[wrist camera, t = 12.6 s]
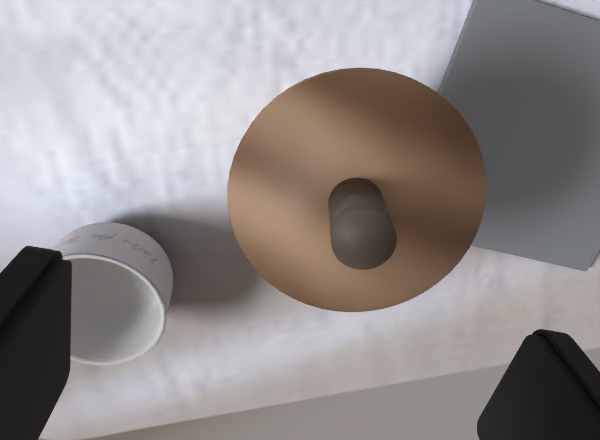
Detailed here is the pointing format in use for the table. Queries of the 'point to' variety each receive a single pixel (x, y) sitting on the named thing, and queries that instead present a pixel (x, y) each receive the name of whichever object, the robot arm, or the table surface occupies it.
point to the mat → (533, 126)
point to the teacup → (116, 292)
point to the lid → (356, 190)
